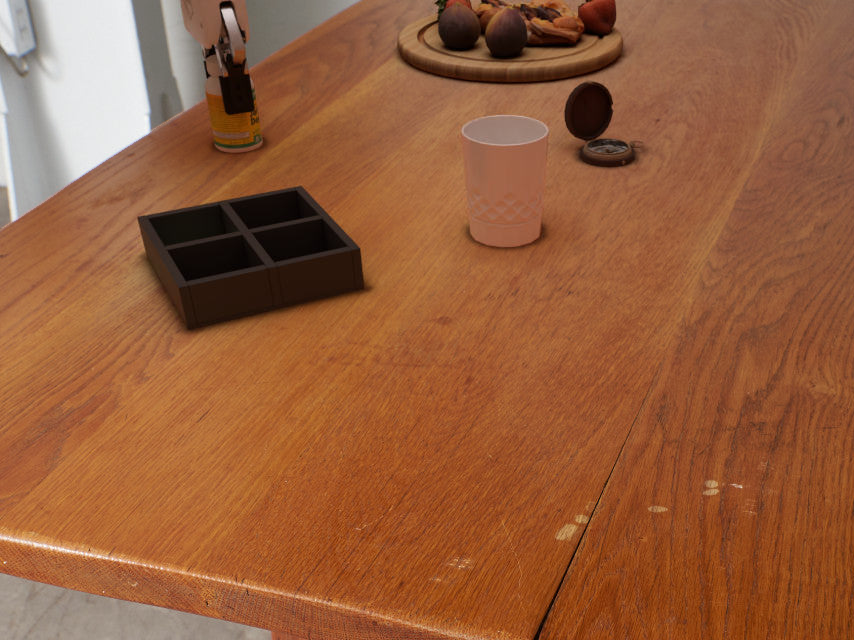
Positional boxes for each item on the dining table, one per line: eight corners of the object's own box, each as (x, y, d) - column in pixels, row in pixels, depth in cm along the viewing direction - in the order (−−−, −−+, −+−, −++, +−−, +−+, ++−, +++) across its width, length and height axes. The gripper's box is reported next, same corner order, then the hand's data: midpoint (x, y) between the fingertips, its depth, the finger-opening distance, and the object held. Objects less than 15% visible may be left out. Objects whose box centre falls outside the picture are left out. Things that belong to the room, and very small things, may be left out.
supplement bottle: (216, 140, 117) (200, 52, 111) (263, 137, 118) (249, 49, 111) (214, 156, 113) (197, 66, 107) (263, 153, 113) (249, 63, 107)
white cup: (517, 211, 101) (518, 109, 95) (562, 239, 96) (566, 133, 90) (449, 229, 98) (445, 124, 92) (492, 259, 93) (490, 151, 86)
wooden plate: (628, 26, 155) (633, -34, 149) (614, 92, 130) (619, 23, 125) (424, 18, 158) (421, -41, 153) (373, 80, 134) (368, 12, 129)
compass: (600, 173, 109) (604, 104, 104) (560, 150, 114) (562, 83, 109) (659, 159, 112) (666, 91, 107) (618, 138, 117) (622, 72, 113)
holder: (188, 333, 82) (178, 287, 80) (147, 259, 93) (136, 216, 90) (365, 291, 88) (360, 247, 85) (307, 226, 98) (301, 185, 96)
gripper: (143, -93, 105) (179, 88, 117) (183, -64, 93) (219, 133, 105) (214, -99, 108) (243, 78, 119) (262, -71, 96) (289, 122, 108)
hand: (232, 102), depth 112 cm, fingers closed on supplement bottle, 5 cm apart
